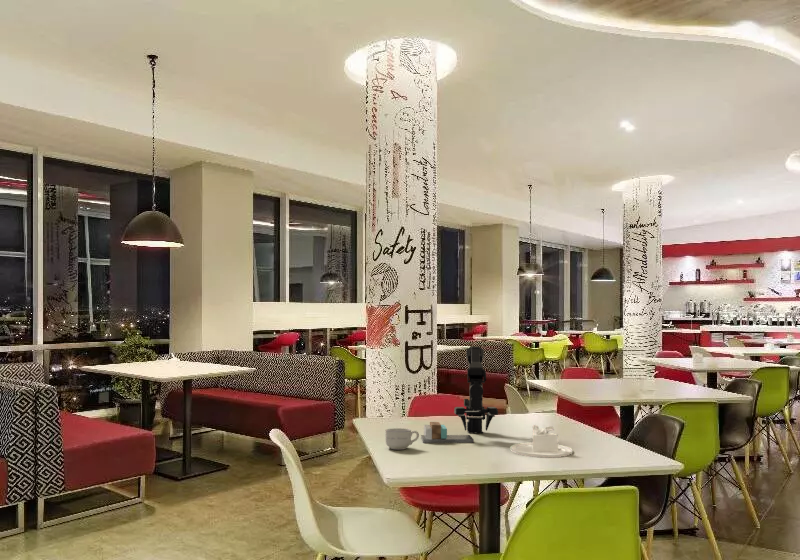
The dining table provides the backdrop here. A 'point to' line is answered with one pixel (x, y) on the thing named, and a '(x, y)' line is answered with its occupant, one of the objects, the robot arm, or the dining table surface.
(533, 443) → the dish
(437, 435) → the brown rectangular block
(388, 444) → the teacup
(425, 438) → the vise base
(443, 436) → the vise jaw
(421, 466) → the dining table surface
